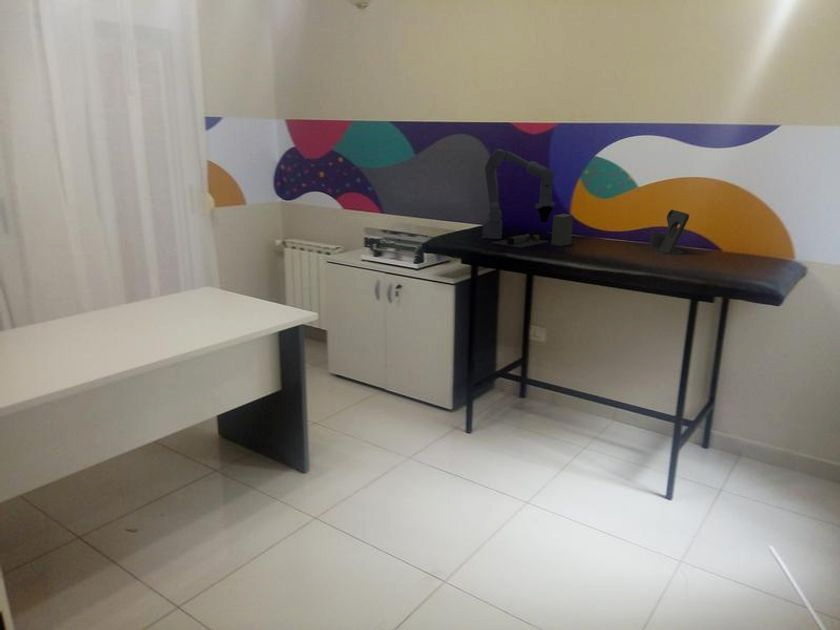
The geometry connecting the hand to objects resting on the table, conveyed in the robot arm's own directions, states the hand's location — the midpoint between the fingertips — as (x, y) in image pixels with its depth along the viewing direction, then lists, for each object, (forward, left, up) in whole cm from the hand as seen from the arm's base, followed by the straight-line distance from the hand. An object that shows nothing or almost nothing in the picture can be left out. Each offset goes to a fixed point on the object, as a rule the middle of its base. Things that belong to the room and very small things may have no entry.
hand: (544, 221), depth 302 cm
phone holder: (+54, +20, -10) cm, 59 cm away
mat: (-3, -15, -9) cm, 18 cm away
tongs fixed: (-3, -17, -9) cm, 19 cm away
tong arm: (-2, -18, -8) cm, 20 cm away
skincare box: (+14, -6, -10) cm, 18 cm away
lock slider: (0, -6, -9) cm, 11 cm away
